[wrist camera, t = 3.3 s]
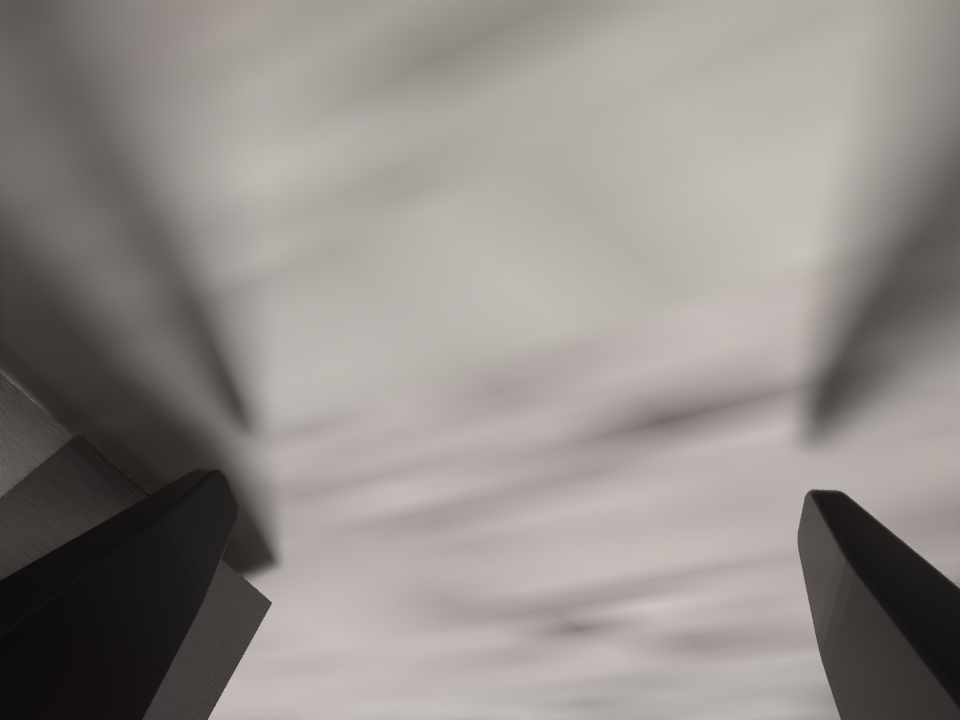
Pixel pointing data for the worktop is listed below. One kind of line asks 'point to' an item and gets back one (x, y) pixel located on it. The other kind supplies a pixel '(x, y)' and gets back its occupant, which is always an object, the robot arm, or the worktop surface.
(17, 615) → the robot arm
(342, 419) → the worktop surface
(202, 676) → the tongs arm
